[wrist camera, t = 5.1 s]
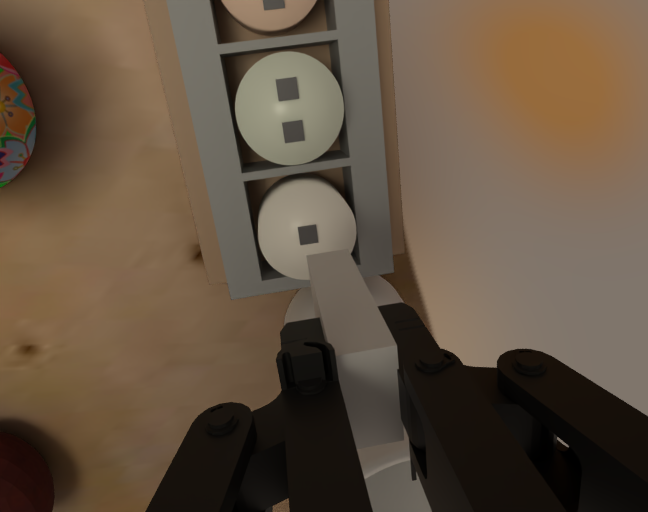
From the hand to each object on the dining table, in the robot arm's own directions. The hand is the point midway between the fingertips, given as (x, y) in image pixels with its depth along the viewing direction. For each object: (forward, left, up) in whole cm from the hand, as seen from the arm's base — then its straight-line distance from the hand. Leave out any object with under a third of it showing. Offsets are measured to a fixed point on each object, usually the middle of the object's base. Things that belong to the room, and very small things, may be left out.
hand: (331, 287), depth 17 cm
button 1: (0, 0, -10) cm, 10 cm away
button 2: (0, +6, -9) cm, 11 cm away
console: (0, +6, -12) cm, 13 cm away
